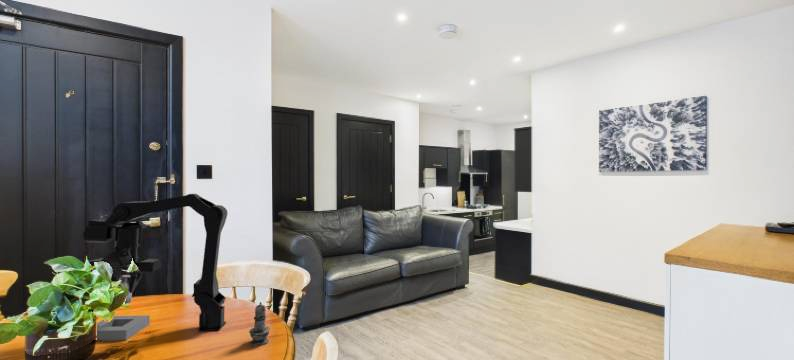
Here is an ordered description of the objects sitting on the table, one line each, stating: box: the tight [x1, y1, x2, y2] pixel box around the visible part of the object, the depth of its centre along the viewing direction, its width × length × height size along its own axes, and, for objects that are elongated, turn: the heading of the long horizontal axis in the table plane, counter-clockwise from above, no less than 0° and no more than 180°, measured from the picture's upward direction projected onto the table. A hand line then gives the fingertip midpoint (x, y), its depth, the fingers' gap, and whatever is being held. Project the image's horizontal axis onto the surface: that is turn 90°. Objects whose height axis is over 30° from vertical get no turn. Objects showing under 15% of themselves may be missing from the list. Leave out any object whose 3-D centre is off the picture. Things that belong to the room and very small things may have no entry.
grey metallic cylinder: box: [117, 274, 133, 305], centre depth 113 cm, size 4×4×8 cm
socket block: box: [96, 315, 151, 342], centre depth 113 cm, size 12×12×3 cm
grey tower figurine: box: [248, 301, 271, 347], centre depth 109 cm, size 6×6×12 cm
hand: (124, 292), depth 113 cm, fingers closed on grey metallic cylinder, 4 cm apart
